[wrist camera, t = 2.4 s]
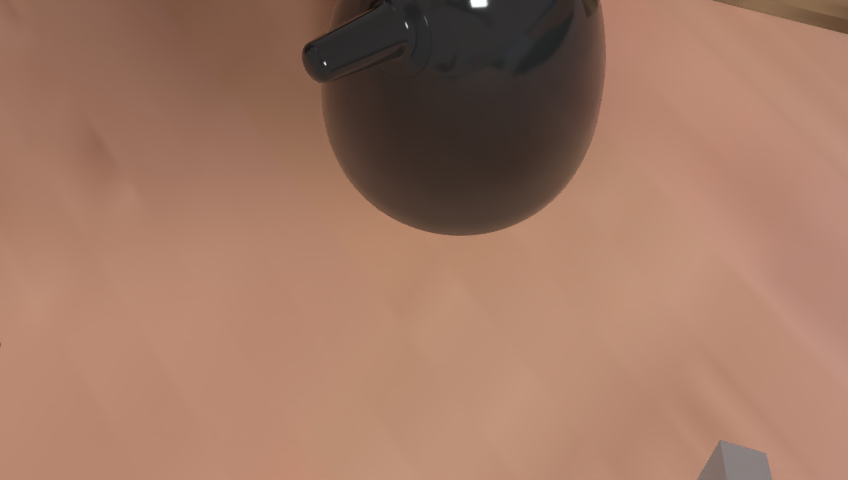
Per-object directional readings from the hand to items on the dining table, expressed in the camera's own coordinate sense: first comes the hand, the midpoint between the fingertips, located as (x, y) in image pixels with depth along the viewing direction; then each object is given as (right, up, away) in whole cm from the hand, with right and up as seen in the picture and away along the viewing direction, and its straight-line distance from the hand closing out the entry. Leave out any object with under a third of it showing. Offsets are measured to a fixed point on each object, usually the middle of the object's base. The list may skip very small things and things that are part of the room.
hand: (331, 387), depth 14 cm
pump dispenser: (+3, +7, +20) cm, 21 cm away
